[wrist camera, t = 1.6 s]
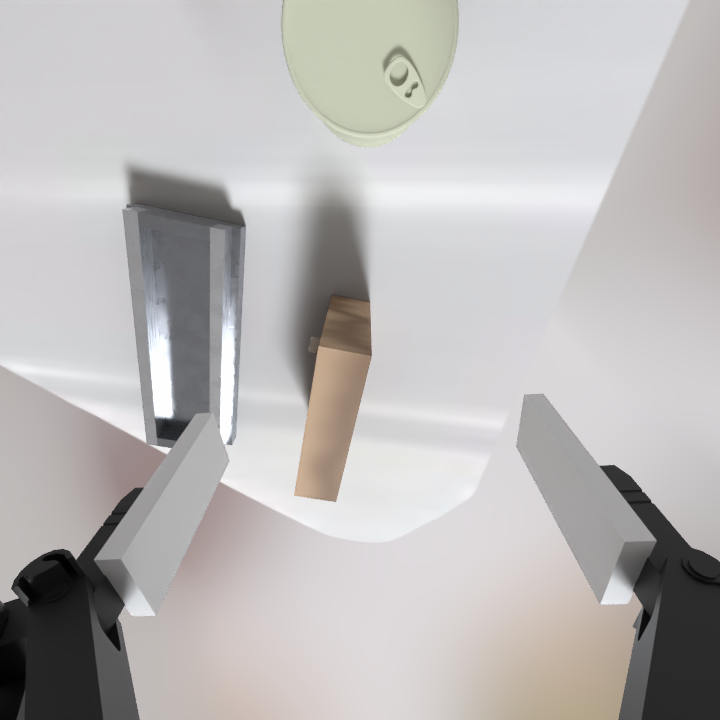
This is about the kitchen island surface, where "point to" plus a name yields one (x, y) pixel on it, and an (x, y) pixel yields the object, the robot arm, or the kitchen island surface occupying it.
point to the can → (369, 61)
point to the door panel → (334, 396)
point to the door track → (185, 317)
